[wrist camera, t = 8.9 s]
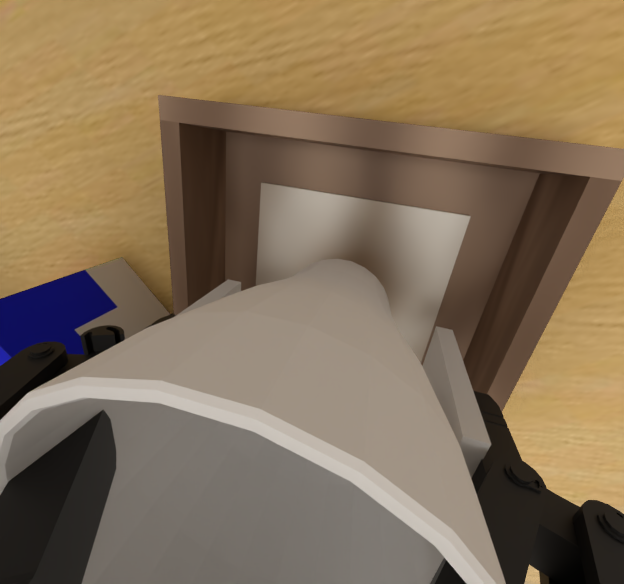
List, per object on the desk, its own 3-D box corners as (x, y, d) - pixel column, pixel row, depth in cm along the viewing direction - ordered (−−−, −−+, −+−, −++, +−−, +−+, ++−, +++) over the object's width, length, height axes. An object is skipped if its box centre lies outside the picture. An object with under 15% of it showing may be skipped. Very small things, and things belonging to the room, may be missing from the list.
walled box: (217, 365, 26) (180, 406, 22) (216, 111, 18) (158, 94, 14) (446, 429, 23) (459, 493, 18) (565, 154, 15) (637, 150, 11)
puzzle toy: (122, 256, 24) (-35, 310, 15) (202, 351, 26) (103, 449, 17) (66, 312, 29) (-84, 380, 20) (139, 391, 30) (32, 486, 21)
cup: (415, 193, 15) (507, 339, 2) (444, 374, 18) (546, 818, 6) (229, 241, 18) (-110, 400, 6) (283, 386, 21) (134, 679, 9)
